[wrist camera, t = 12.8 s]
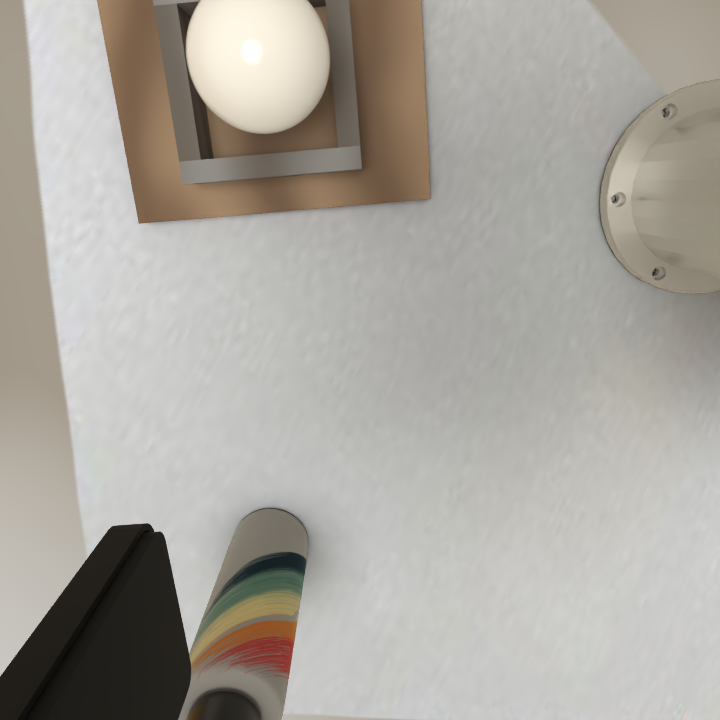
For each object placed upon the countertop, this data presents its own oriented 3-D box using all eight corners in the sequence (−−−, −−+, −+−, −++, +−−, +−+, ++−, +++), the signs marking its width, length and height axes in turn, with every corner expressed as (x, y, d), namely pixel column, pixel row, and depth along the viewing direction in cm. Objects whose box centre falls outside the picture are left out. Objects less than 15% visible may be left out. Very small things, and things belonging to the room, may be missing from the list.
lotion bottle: (292, 581, 45) (240, 872, 26) (223, 555, 45) (118, 834, 26) (320, 523, 44) (287, 787, 25) (250, 495, 43) (159, 745, 24)
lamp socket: (415, -59, 33) (423, -96, 28) (427, 198, 37) (436, 200, 33) (101, -28, 33) (62, -60, 29) (147, 221, 37) (119, 227, 33)
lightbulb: (204, 83, 34) (132, 38, 23) (281, -3, 32) (242, -92, 22) (282, 167, 35) (248, 161, 24) (360, 88, 34) (359, 45, 23)
